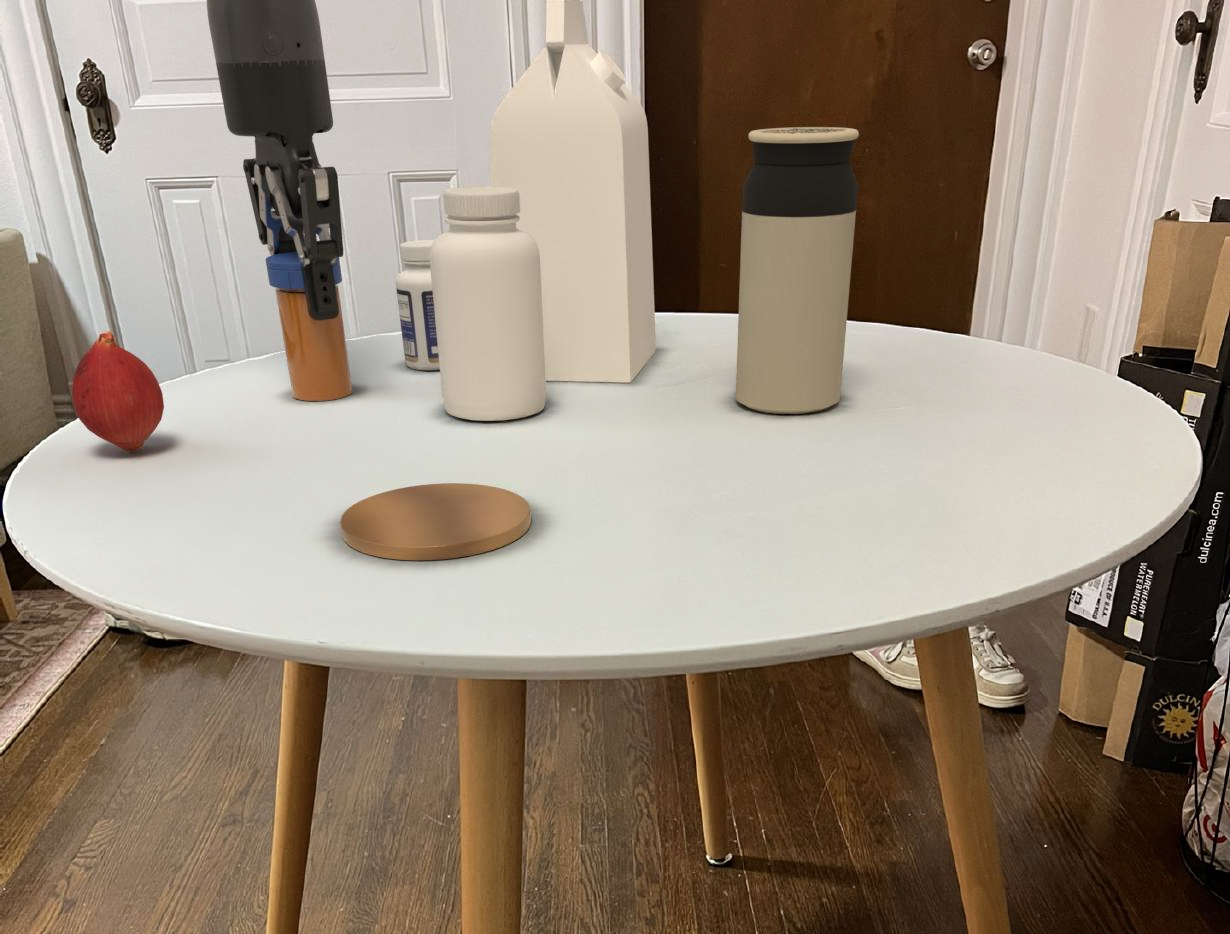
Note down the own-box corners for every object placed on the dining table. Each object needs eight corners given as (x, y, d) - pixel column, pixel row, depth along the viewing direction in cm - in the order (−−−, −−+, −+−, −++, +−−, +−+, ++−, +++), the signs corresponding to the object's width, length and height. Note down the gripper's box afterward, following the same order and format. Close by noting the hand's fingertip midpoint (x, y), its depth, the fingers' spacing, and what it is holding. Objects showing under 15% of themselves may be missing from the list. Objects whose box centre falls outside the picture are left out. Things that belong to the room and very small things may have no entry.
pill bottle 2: (568, 410, 88) (558, 188, 80) (478, 430, 84) (458, 198, 76) (511, 391, 93) (497, 181, 85) (425, 409, 90) (400, 190, 81)
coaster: (388, 576, 61) (386, 562, 61) (314, 519, 69) (312, 506, 68) (566, 533, 66) (565, 519, 66) (478, 484, 74) (477, 471, 73)
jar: (305, 404, 92) (284, 275, 86) (284, 391, 95) (263, 266, 89) (361, 394, 94) (345, 268, 88) (338, 382, 97) (321, 260, 92)
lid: (323, 290, 87) (319, 264, 86) (256, 288, 88) (251, 262, 87) (353, 277, 91) (350, 252, 90) (289, 274, 92) (285, 250, 91)
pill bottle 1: (475, 358, 104) (464, 238, 98) (454, 372, 99) (442, 247, 94) (418, 356, 105) (405, 237, 99) (396, 370, 100) (381, 247, 95)
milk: (533, 348, 107) (513, 5, 92) (655, 350, 105) (654, -1, 90) (496, 379, 97) (467, 1, 83) (630, 382, 95) (624, -5, 80)
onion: (88, 468, 79) (54, 344, 74) (88, 446, 83) (55, 328, 79) (177, 457, 80) (148, 335, 76) (172, 436, 85) (144, 319, 80)
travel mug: (845, 415, 85) (870, 132, 75) (737, 416, 86) (748, 135, 76) (833, 388, 92) (854, 125, 82) (733, 389, 92) (742, 128, 82)
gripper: (358, 53, 78) (391, 321, 87) (286, 54, 88) (322, 294, 97) (250, 56, 75) (296, 334, 84) (188, 57, 85) (235, 305, 94)
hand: (310, 311), depth 91 cm, fingers closed on lid, 5 cm apart
